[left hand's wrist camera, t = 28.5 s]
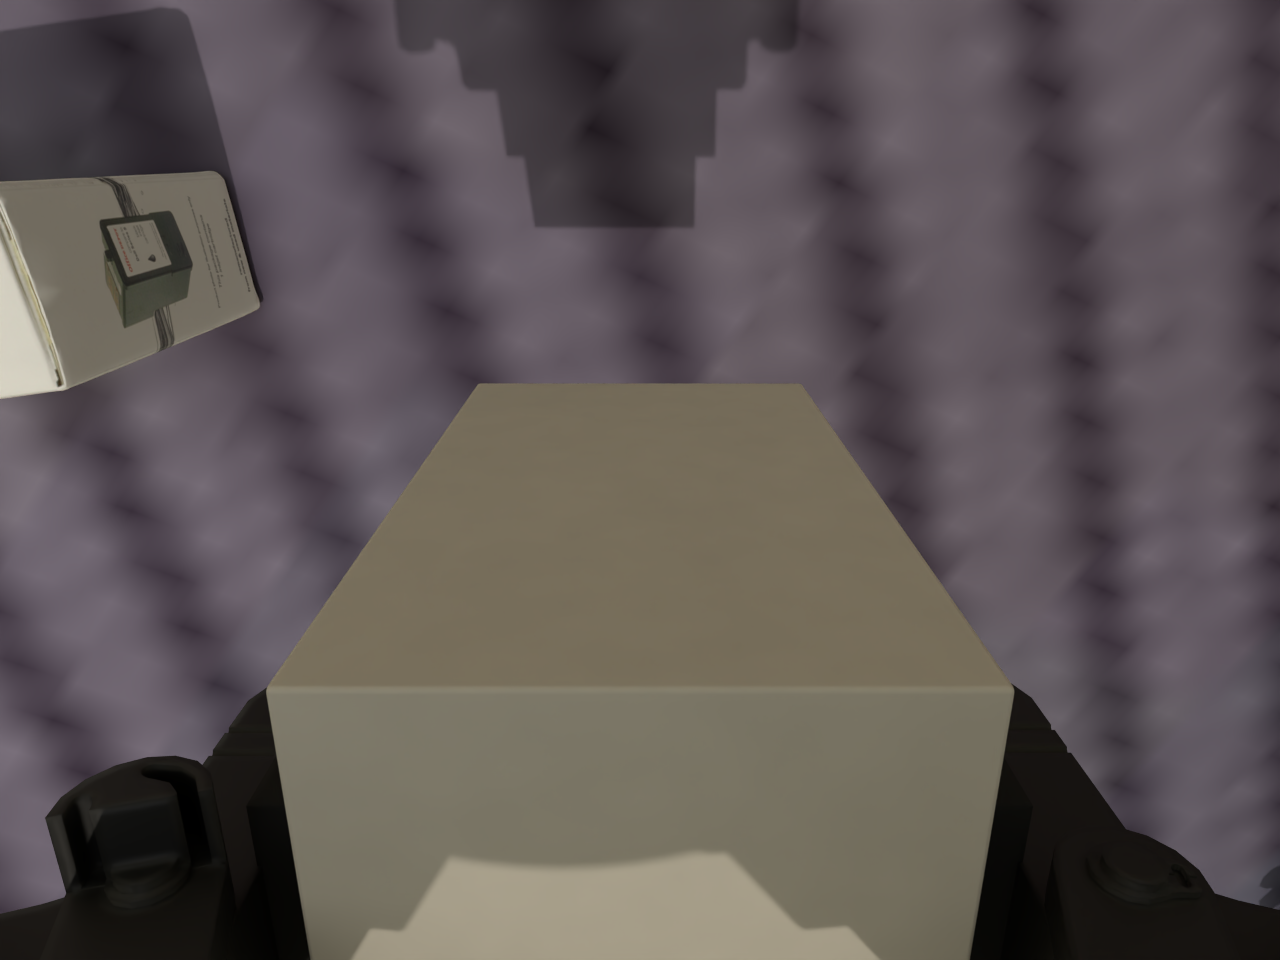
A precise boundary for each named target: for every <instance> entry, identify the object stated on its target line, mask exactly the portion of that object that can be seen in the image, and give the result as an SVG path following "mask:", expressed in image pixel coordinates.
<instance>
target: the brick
mask: <svg viewBox="0 0 1280 960" xmlns="http://www.w3.org/2000/svg"><path fill="white" fill-rule="evenodd" d="M266 695H267V701H268V707H269V713H270V719H271V725H272V731H273V737H274V743H275V749H276V755H277V761H278V767H279V773H280V779H281V785H282V791H283V797H284V803H285V809H286V815H287V821H288V827H289V833H290V839H291V845H292V851H293V857H294V863H295V869H296V875H297V881H298V887H299V893H300V899H301V905H302V911H303V917H304V924H305V930H306V936H307V942H308V948H309V954H310V960H970V955H971V949H972V943H973V937H974V931H975V925H976V919H977V913H978V907H979V901H980V895H981V889H982V883H983V877H984V871H985V865H986V859H987V853H988V847H989V841H990V836H991V830H992V824H993V818H994V812H995V806H996V800H997V794H998V788H999V782H1000V776H1001V770H1002V764H1003V758H1004V752H1005V746H1006V740H1007V734H1008V728H1009V722H1010V716H1011V710H1012V704H1013V698H1014V688H1013V686H1012V684H1011V683H1010V682H1009V680H1008V679H1007V677H1006V676H1005V674H1004V673H1003V672H1002V670H1001V669H1000V667H999V666H998V664H997V663H996V662H995V660H994V659H993V657H992V656H991V654H990V653H989V652H988V650H987V649H986V647H985V646H984V644H983V643H982V642H981V640H980V639H979V637H978V636H977V634H976V633H975V632H974V630H973V629H972V627H971V626H970V624H969V623H968V622H967V620H966V619H965V617H964V616H963V614H962V613H961V612H960V610H959V609H958V607H957V606H956V604H955V603H954V602H953V600H952V599H951V597H950V596H949V594H948V593H947V592H946V590H945V589H944V587H943V586H942V584H941V583H940V582H939V580H938V579H937V577H936V576H935V574H934V573H933V572H932V570H931V569H930V567H929V566H928V564H927V563H926V562H925V560H924V559H923V557H922V556H921V554H920V553H919V552H918V550H917V549H916V547H915V546H914V544H913V543H912V542H911V540H910V539H909V537H908V536H907V534H906V533H905V532H904V530H903V529H902V527H901V526H900V524H899V523H898V522H897V520H896V519H895V517H894V516H893V514H892V513H891V512H890V510H889V509H888V507H887V506H886V504H885V503H884V502H883V500H882V499H881V497H880V496H879V494H878V493H877V492H876V490H875V489H874V487H873V486H872V484H871V483H870V482H869V480H868V479H867V477H866V476H865V474H864V473H863V472H862V470H861V469H860V467H859V466H858V464H857V463H856V462H855V460H854V459H853V457H852V456H851V454H850V453H849V452H848V450H847V449H846V447H845V446H844V444H843V443H842V442H841V440H840V439H839V437H838V436H837V435H836V433H835V432H834V430H833V429H832V427H831V426H830V425H829V423H828V422H827V420H826V419H825V417H824V416H823V415H822V413H821V412H820V410H819V409H818V407H817V406H816V405H815V403H814V402H813V400H812V399H811V397H810V396H809V395H808V393H807V392H806V390H805V389H804V387H803V386H802V385H801V384H478V385H477V387H476V388H475V389H474V391H473V392H472V394H471V395H470V397H469V398H468V400H467V401H466V402H465V404H464V405H463V407H462V408H461V410H460V411H459V412H458V414H457V415H456V417H455V418H454V420H453V421H452V422H451V424H450V425H449V427H448V428H447V430H446V431H445V433H444V434H443V435H442V437H441V438H440V440H439V441H438V443H437V444H436V445H435V447H434V448H433V450H432V451H431V453H430V454H429V456H428V457H427V458H426V460H425V461H424V463H423V464H422V466H421V467H420V468H419V470H418V471H417V473H416V474H415V476H414V477H413V478H412V480H411V481H410V483H409V484H408V486H407V487H406V489H405V490H404V491H403V493H402V494H401V496H400V497H399V499H398V500H397V501H396V503H395V504H394V506H393V507H392V509H391V510H390V511H389V513H388V514H387V516H386V517H385V519H384V520H383V522H382V523H381V524H380V526H379V527H378V529H377V530H376V532H375V533H374V534H373V536H372V537H371V539H370V540H369V542H368V543H367V545H366V546H365V547H364V549H363V550H362V552H361V553H360V555H359V556H358V557H357V559H356V560H355V562H354V563H353V565H352V566H351V567H350V569H349V570H348V572H347V573H346V575H345V576H344V578H343V579H342V580H341V582H340V583H339V585H338V586H337V588H336V589H335V590H334V592H333V593H332V595H331V596H330V598H329V599H328V601H327V602H326V603H325V605H324V606H323V608H322V609H321V611H320V612H319V613H318V615H317V616H316V618H315V619H314V621H313V622H312V623H311V625H310V626H309V628H308V629H307V631H306V632H305V634H304V635H303V636H302V638H301V639H300V641H299V642H298V644H297V645H296V646H295V648H294V649H293V651H292V652H291V654H290V655H289V657H288V658H287V659H286V661H285V662H284V664H283V665H282V667H281V668H280V669H279V671H278V672H277V674H276V675H275V677H274V678H273V679H272V681H271V682H270V684H269V685H268V687H267V690H266Z"/></svg>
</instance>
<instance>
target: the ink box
mask: <svg viewBox="0 0 1280 960" xmlns="http://www.w3.org/2000/svg"><path fill="white" fill-rule="evenodd" d="M259 307H260V302H259V298H258V296H257V293H256V291H255V288H254V285H253V281H252V277H251V273H250V270H249V266H248V262H247V258H246V255H245V251H244V248H243V244H242V241H241V237H240V234H239V230H238V226H237V223H236V219H235V215H234V212H233V208H232V205H231V201H230V198H229V194H228V191H227V187H226V184H225V180H224V179H223V178H222V176H221V175H219V174H218V173H217V172H215V171H203V172H192V173H173V174H149V175H128V176H108V177H91V178H66V179H47V180H28V181H4V182H0V399H3V398H11V397H18V396H25V395H32V394H39V393H46V392H54V391H63V390H66V389H69V388H71V387H73V386H76V385H78V384H81V383H84V382H86V381H89V380H91V379H94V378H96V377H98V376H101V375H103V374H106V373H108V372H111V371H114V370H116V369H118V368H121V367H123V366H126V365H128V364H130V363H133V362H135V361H137V360H140V359H142V358H145V357H147V356H150V355H152V354H154V353H157V352H159V351H161V350H164V349H166V348H169V347H171V346H174V345H176V344H178V343H181V342H183V341H186V340H188V339H190V338H193V337H195V336H197V335H200V334H202V333H205V332H208V331H210V330H212V329H214V328H217V327H219V326H221V325H224V324H226V323H229V322H231V321H233V320H236V319H238V318H240V317H243V316H245V315H247V314H249V313H251V312H253V311H255V310H257V309H259Z"/></svg>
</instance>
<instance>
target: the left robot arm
mask: <svg viewBox="0 0 1280 960" xmlns="http://www.w3.org/2000/svg"><path fill="white" fill-rule="evenodd" d="M1012 686H1013V688H1014V698H1013V704H1012V710H1011V716H1010V722H1009V728H1008V734H1007V740H1006V746H1005V752H1004V758H1003V764H1002V770H1001V776H1000V782H999V788H998V794H997V800H996V806H995V812H994V818H993V824H992V830H991V836H990V841H989V847H988V853H987V859H986V865H985V871H984V877H983V883H982V889H981V895H980V901H979V907H978V913H977V919H976V925H975V931H974V937H973V943H972V949H971V955H970V960H1280V910H1277V909H1272V908H1268V907H1264V906H1259V905H1255V904H1251V903H1247V902H1242V901H1238V900H1235V899H1231V898H1228V897H1225V896H1221V895H1218V894H1215V893H1214V891H1213V890H1212V888H1211V887H1210V885H1209V884H1208V882H1207V881H1206V879H1205V878H1204V876H1203V875H1202V873H1201V872H1200V870H1198V869H1197V868H1196V867H1195V866H1194V865H1192V864H1191V863H1190V862H1189V861H1188V860H1186V859H1185V858H1184V857H1183V856H1182V855H1180V854H1179V853H1178V852H1177V851H1175V850H1174V849H1172V848H1170V847H1168V846H1166V845H1164V844H1162V843H1160V842H1158V841H1156V840H1154V839H1152V838H1151V837H1149V836H1146V835H1143V834H1140V833H1136V832H1133V831H1129V830H1126V829H1125V827H1124V826H1123V825H1122V823H1121V822H1120V820H1119V819H1118V818H1117V816H1116V815H1115V813H1114V812H1113V811H1112V809H1111V808H1110V806H1109V805H1108V804H1107V802H1106V801H1105V800H1104V798H1103V797H1102V795H1101V794H1100V793H1099V791H1098V790H1097V788H1096V787H1095V786H1094V784H1093V783H1092V781H1091V780H1090V779H1089V777H1088V776H1087V774H1086V773H1085V772H1084V770H1083V769H1082V767H1081V766H1080V765H1079V763H1078V762H1077V760H1076V759H1075V758H1074V756H1073V755H1072V754H1071V753H1068V752H1067V747H1066V745H1065V744H1064V742H1063V741H1062V740H1061V738H1060V737H1059V735H1058V734H1057V733H1056V731H1055V730H1051V724H1050V723H1049V721H1048V720H1047V719H1046V717H1045V716H1044V714H1043V713H1042V712H1041V710H1040V709H1039V708H1038V706H1037V705H1036V703H1035V702H1034V701H1033V699H1032V698H1031V697H1030V696H1028V695H1027V694H1025V693H1024V692H1023V691H1021V690H1020V689H1018V688H1017V687H1015V686H1014V685H1013V684H1012ZM266 690H267V688H266V689H264V690H263V691H261V692H260V693H258V694H257V695H256V696H254V697H253V698H251V699H250V700H249V701H248V702H247V703H246V705H245V706H244V707H243V709H242V710H241V712H240V713H239V714H238V716H237V717H236V719H235V720H234V721H233V723H232V724H231V726H230V727H229V733H225V734H224V735H223V737H222V738H221V740H220V741H219V742H218V744H217V745H216V747H215V748H214V749H213V755H212V756H208V758H207V759H206V761H205V762H204V763H203V765H202V764H200V763H199V762H198V761H195V760H191V759H187V758H183V757H178V756H162V757H146V758H142V759H139V760H135V761H131V762H127V763H123V764H119V765H116V766H113V767H111V768H109V769H107V770H105V771H103V772H100V773H98V774H96V775H94V776H92V777H90V778H87V779H85V780H84V781H83V782H81V783H80V784H79V785H77V786H76V787H75V788H73V789H72V790H70V791H69V792H68V793H66V794H65V795H64V796H62V797H61V798H60V799H59V801H58V802H57V803H56V804H55V806H54V807H53V808H52V810H51V811H50V812H49V814H48V815H47V816H46V817H45V819H46V822H47V826H48V830H49V833H50V837H51V840H52V844H53V847H54V851H55V854H56V858H57V862H58V865H59V869H60V872H61V876H62V879H63V883H64V886H65V890H66V895H65V897H64V898H61V899H58V900H54V901H51V902H48V903H45V904H41V905H37V906H32V907H28V908H24V909H20V910H15V911H11V912H7V913H3V914H0V960H310V954H309V948H308V942H307V936H306V930H305V924H304V917H303V911H302V905H301V899H300V893H299V887H298V881H297V875H296V869H295V863H294V857H293V851H292V845H291V839H290V833H289V827H288V821H287V815H286V809H285V803H284V797H283V791H282V785H281V779H280V773H279V767H278V761H277V755H276V749H275V743H274V737H273V731H272V725H271V719H270V713H269V707H268V701H267V695H266Z"/></svg>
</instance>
